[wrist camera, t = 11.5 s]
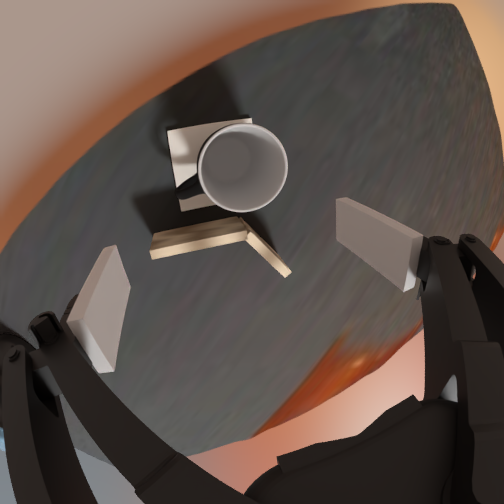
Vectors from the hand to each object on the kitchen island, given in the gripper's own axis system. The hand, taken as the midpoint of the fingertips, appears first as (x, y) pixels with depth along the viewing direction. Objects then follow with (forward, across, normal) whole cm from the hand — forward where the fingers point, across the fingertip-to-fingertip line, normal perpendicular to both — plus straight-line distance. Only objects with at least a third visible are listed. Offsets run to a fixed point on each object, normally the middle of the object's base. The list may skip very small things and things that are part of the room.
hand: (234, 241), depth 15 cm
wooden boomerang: (+22, +1, -10) cm, 25 cm away
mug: (+22, +2, +2) cm, 22 cm away
